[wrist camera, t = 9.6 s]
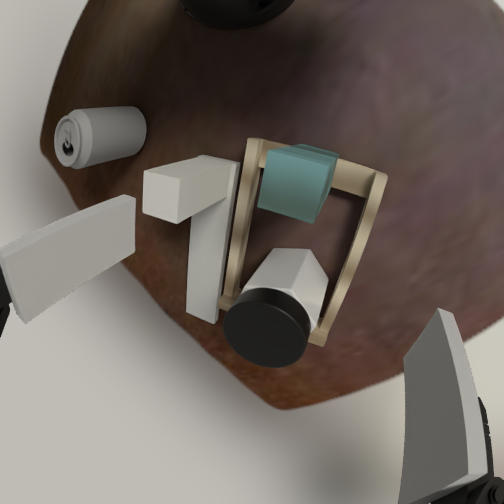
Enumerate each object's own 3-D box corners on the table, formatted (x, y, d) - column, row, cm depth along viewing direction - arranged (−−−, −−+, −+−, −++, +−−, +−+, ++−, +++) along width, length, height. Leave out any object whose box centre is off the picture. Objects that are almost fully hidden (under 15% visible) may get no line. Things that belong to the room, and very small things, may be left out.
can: (112, 148, 37) (49, 163, 27) (120, 102, 33) (54, 107, 23) (145, 161, 36) (77, 180, 26) (155, 110, 32) (84, 114, 22)
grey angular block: (203, 154, 32) (139, 169, 22) (240, 162, 31) (185, 180, 21) (190, 307, 43) (148, 351, 34) (217, 319, 42) (179, 368, 33)
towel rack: (256, 133, 28) (199, 137, 18) (386, 169, 25) (406, 192, 15) (230, 291, 39) (184, 346, 29) (327, 327, 35) (309, 396, 25)
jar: (248, 261, 36) (203, 314, 26) (301, 232, 32) (269, 284, 22) (286, 313, 37) (255, 377, 27) (338, 292, 33) (323, 360, 23)
